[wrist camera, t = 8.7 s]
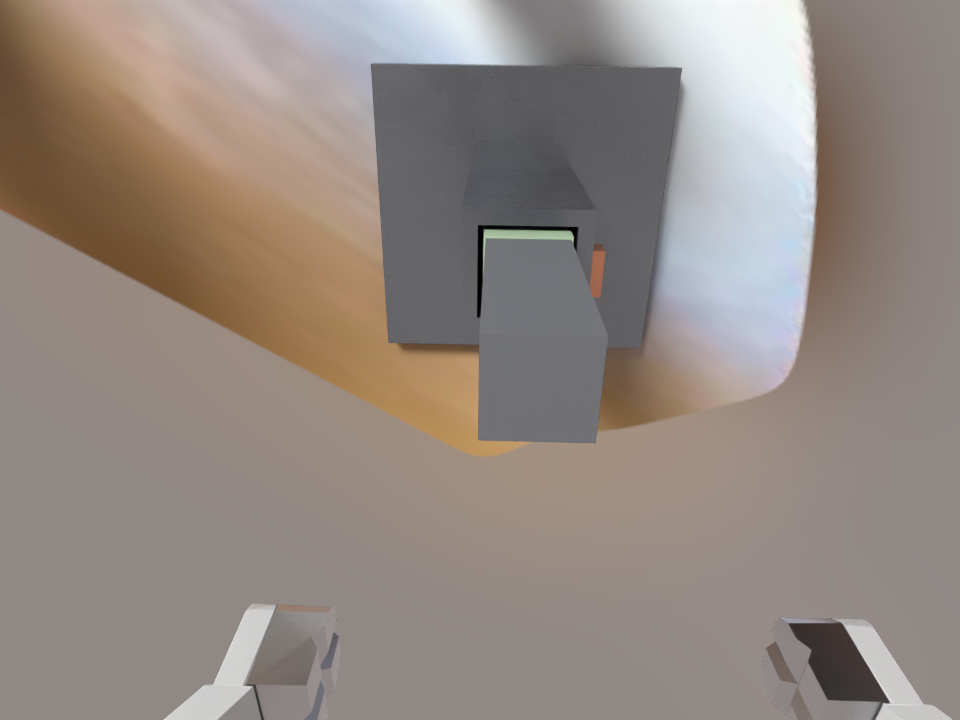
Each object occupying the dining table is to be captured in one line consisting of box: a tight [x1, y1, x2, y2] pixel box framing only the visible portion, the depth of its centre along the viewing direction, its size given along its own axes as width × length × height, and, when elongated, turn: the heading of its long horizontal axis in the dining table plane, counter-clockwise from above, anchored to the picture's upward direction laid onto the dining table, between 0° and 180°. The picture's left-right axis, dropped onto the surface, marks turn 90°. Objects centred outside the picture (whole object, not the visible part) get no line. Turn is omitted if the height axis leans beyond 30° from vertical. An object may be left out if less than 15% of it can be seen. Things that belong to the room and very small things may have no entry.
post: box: [478, 225, 608, 443], centre depth 27 cm, size 4×4×16 cm
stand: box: [371, 63, 682, 348], centre depth 35 cm, size 18×18×12 cm
